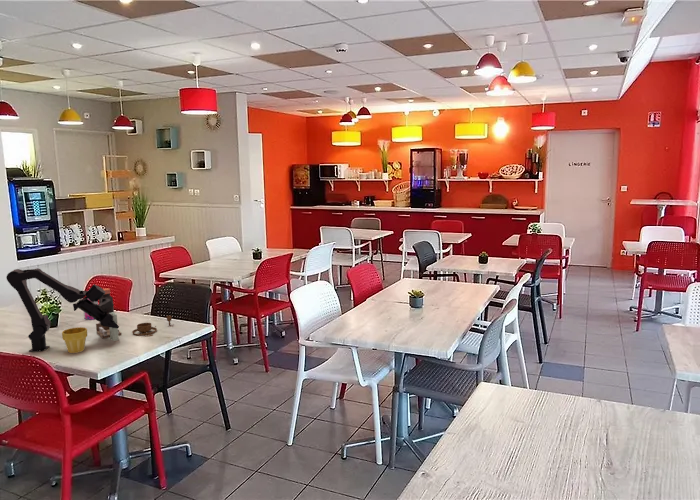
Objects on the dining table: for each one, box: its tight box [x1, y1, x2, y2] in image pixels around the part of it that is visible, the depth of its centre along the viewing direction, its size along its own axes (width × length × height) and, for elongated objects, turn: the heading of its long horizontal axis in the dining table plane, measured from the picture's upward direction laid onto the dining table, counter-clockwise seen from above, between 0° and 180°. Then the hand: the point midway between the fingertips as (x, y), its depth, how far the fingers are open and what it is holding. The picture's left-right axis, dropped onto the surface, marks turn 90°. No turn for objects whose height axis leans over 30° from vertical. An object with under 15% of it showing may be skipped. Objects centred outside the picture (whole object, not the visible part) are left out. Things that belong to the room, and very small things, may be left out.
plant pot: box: [61, 326, 88, 354], centre depth 241 cm, size 10×10×10 cm
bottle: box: [98, 287, 115, 313], centre depth 280 cm, size 7×7×20 cm
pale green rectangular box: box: [109, 311, 120, 342], centre depth 257 cm, size 6×2×13 cm, turn 38°
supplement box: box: [83, 300, 99, 321], centre depth 295 cm, size 6×6×12 cm
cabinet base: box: [95, 323, 123, 340], centre depth 266 cm, size 12×9×5 cm
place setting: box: [131, 315, 172, 338], centre depth 270 cm, size 18×20×6 cm
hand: (116, 325), depth 258 cm, fingers open, 8 cm apart
